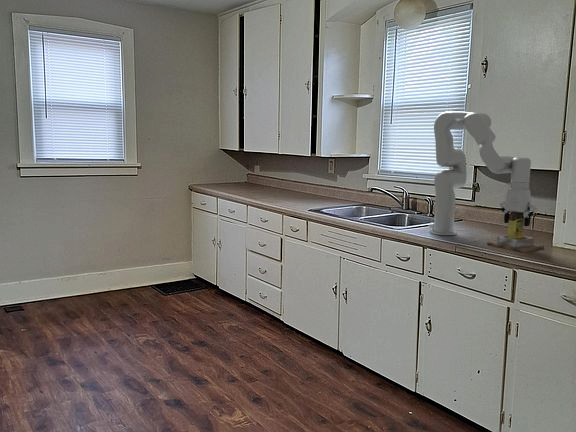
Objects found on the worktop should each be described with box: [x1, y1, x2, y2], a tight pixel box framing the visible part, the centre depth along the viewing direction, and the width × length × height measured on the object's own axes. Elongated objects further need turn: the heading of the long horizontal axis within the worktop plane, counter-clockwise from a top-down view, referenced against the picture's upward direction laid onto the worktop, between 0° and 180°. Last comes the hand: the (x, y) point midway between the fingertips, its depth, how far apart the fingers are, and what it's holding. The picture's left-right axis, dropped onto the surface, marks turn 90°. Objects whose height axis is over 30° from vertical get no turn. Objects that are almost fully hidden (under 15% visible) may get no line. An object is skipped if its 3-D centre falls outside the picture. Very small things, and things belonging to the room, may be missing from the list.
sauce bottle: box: [506, 211, 525, 240], centre depth 239 cm, size 7×6×20 cm
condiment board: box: [486, 234, 545, 253], centre depth 240 cm, size 18×15×4 cm
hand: (516, 224), depth 239 cm, fingers open, 9 cm apart
